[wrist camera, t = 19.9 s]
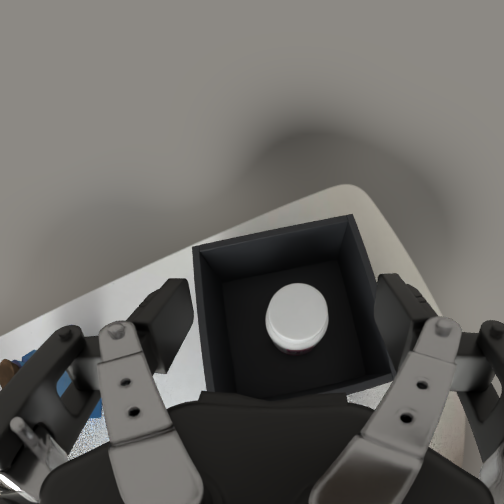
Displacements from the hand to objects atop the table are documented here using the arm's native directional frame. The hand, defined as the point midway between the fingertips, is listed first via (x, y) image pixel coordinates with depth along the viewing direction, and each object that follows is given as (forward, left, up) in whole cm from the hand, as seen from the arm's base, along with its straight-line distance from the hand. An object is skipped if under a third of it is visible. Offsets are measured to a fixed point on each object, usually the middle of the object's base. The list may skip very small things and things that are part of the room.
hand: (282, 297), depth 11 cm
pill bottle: (+1, +1, -16) cm, 16 cm away
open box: (0, +1, -16) cm, 16 cm away
